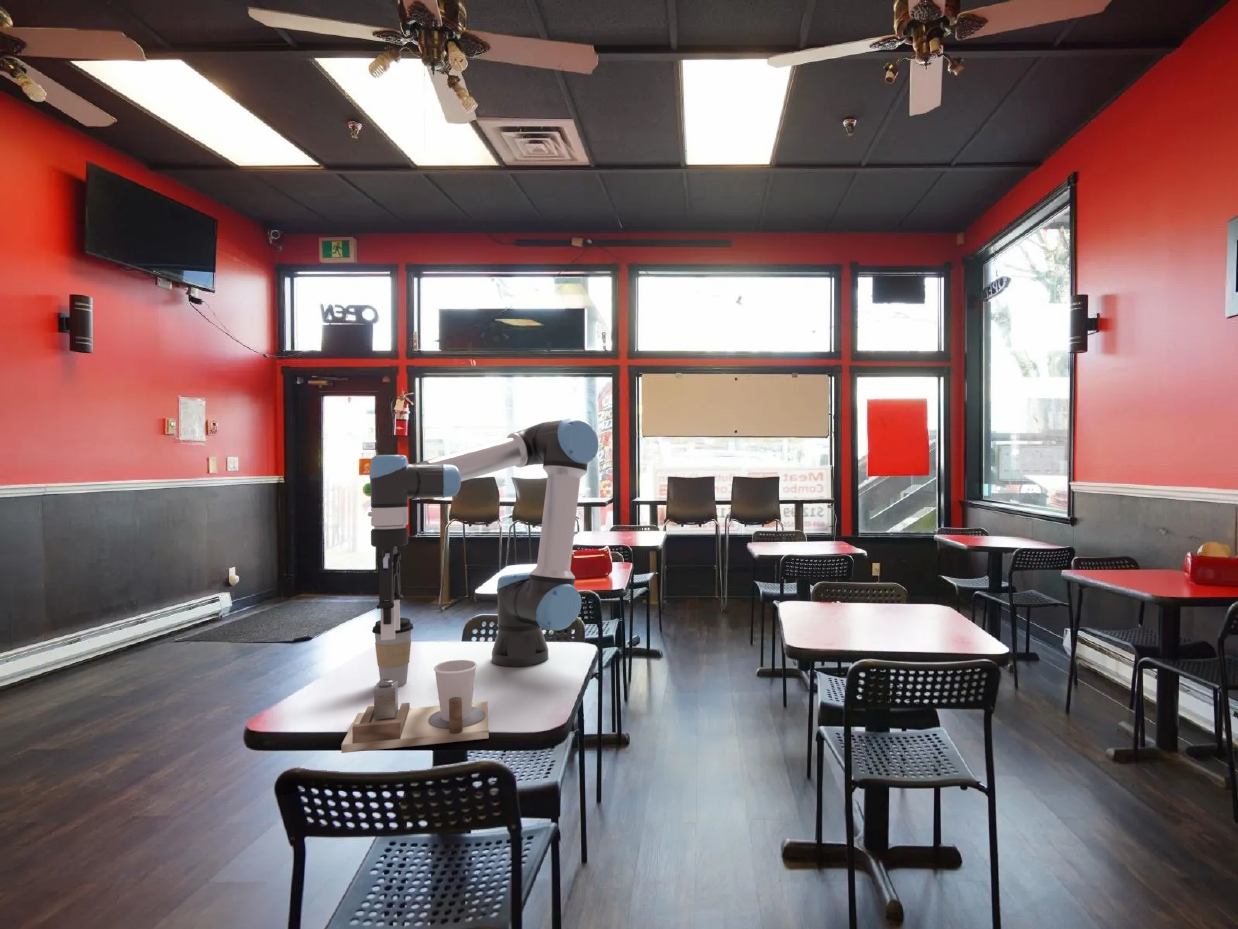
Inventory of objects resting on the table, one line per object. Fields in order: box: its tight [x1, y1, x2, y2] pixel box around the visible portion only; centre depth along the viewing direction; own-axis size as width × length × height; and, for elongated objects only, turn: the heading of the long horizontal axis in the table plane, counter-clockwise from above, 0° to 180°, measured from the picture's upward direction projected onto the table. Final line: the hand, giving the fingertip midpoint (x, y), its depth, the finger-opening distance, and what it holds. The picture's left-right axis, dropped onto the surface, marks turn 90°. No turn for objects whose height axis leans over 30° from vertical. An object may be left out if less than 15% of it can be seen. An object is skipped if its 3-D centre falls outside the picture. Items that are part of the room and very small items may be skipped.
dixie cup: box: [433, 659, 478, 721], centre depth 128 cm, size 8×8×10 cm
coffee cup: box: [371, 617, 414, 687], centre depth 155 cm, size 9×9×15 cm
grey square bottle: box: [373, 679, 399, 720], centre depth 129 cm, size 4×4×7 cm
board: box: [340, 697, 490, 754], centre depth 126 cm, size 26×16×8 cm, turn 102°
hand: (390, 634), depth 137 cm, fingers open, 8 cm apart
